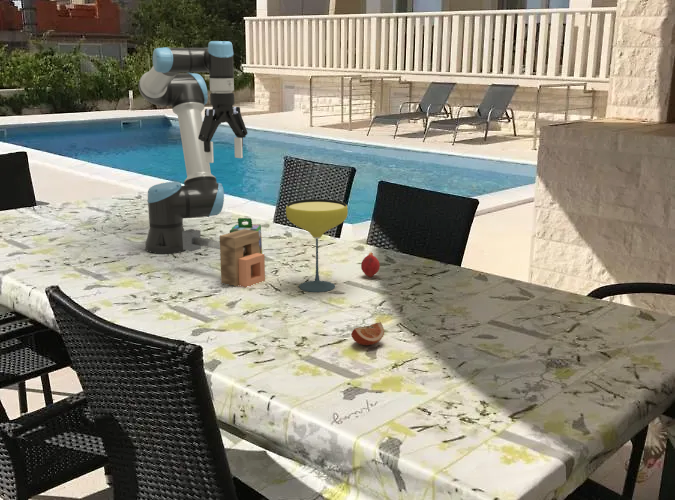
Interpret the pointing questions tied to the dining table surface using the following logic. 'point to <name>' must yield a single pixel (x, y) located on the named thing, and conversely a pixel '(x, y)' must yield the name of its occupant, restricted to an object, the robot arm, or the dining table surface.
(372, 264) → the onion
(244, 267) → the orange boxy part
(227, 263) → the bearing block
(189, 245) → the shaft
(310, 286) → the cocktail glass
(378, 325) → the fruit slice
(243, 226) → the chalk box
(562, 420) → the dining table surface
